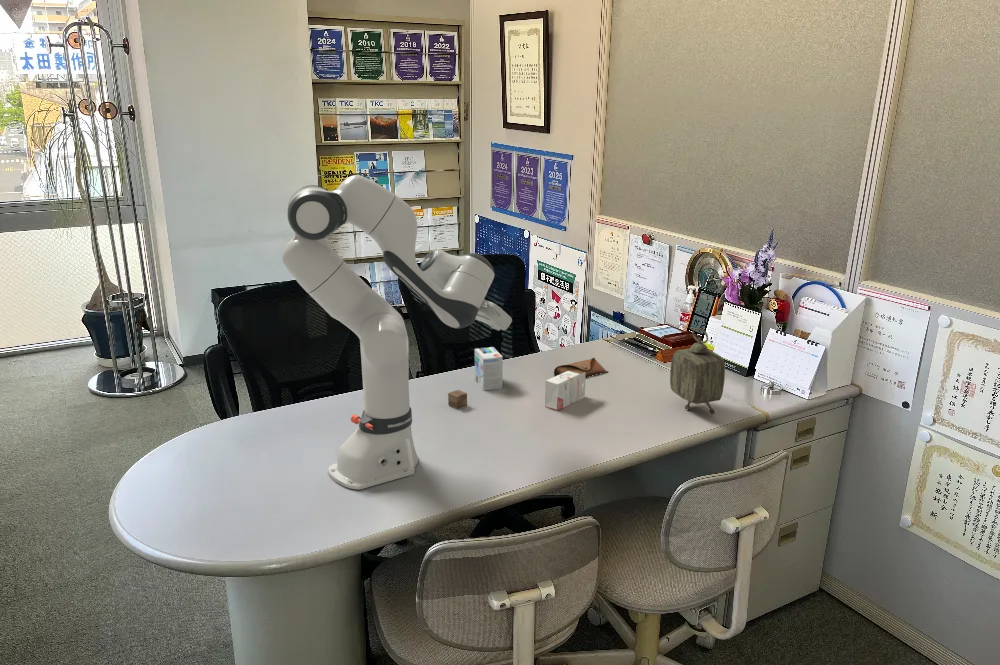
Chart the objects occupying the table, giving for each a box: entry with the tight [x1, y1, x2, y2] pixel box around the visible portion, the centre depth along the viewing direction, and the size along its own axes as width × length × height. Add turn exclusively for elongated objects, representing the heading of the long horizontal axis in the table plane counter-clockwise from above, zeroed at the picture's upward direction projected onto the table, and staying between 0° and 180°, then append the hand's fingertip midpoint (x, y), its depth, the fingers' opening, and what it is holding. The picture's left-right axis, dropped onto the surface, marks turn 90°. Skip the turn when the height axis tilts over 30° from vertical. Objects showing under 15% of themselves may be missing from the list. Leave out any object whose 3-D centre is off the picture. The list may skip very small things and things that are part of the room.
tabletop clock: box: [669, 327, 726, 415], centre depth 211 cm, size 14×9×25 cm, turn 22°
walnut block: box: [447, 389, 468, 410], centre depth 216 cm, size 4×4×4 cm
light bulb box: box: [474, 346, 504, 391], centre depth 233 cm, size 11×7×11 cm, turn 17°
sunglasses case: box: [553, 357, 609, 378], centre depth 243 cm, size 18×7×7 cm
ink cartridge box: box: [544, 371, 586, 411], centre depth 219 cm, size 9×5×15 cm
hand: (497, 327), depth 193 cm, fingers closed
